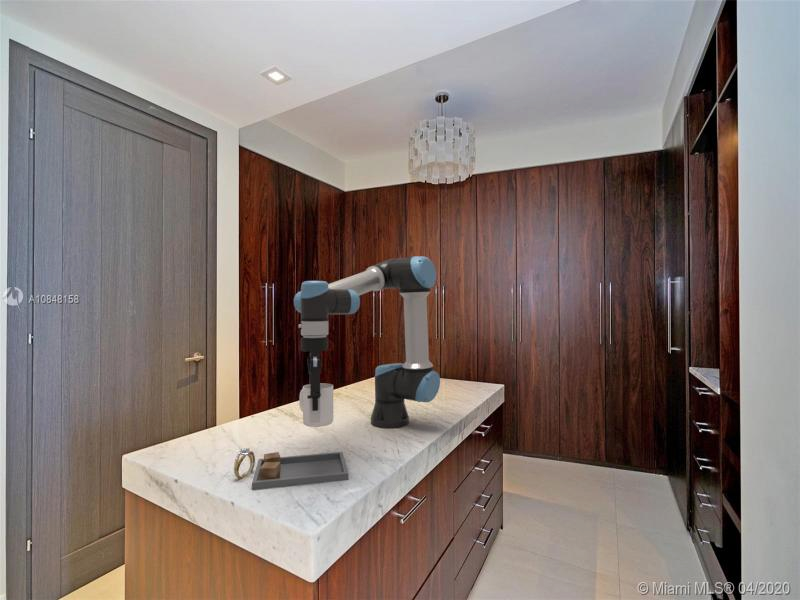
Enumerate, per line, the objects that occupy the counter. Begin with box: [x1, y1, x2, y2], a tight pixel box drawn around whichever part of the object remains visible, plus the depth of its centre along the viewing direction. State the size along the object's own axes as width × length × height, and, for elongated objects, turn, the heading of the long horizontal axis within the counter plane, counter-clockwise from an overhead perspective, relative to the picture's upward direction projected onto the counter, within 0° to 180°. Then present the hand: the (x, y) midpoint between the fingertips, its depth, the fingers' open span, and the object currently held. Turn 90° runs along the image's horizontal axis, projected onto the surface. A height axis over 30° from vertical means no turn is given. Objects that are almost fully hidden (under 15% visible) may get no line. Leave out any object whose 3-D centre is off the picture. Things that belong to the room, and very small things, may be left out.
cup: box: [299, 382, 334, 428], centre depth 113 cm, size 8×12×10 cm
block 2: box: [260, 462, 280, 480], centre depth 106 cm, size 4×4×4 cm
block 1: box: [263, 451, 281, 463], centre depth 112 cm, size 4×4×4 cm
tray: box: [251, 451, 349, 491], centre depth 111 cm, size 24×16×2 cm, turn 104°
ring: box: [233, 447, 256, 480], centre depth 108 cm, size 7×3×8 cm, turn 156°
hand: (314, 416), depth 112 cm, fingers closed on cup, 10 cm apart
